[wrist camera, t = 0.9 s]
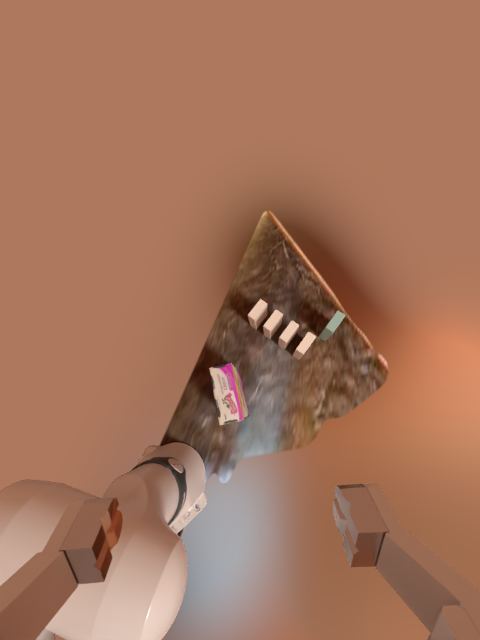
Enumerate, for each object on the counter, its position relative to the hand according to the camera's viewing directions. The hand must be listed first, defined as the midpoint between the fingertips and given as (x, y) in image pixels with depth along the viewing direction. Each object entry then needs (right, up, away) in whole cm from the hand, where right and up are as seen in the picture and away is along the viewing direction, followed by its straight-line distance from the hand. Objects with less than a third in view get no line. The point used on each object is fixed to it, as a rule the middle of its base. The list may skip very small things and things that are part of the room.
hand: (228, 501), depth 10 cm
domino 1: (+6, +7, +61) cm, 62 cm away
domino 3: (+13, +2, +59) cm, 60 cm away
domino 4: (+16, -1, +58) cm, 60 cm away
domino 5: (+23, +4, +58) cm, 63 cm away
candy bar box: (-1, -12, +56) cm, 58 cm away
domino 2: (+9, +4, +60) cm, 61 cm away
